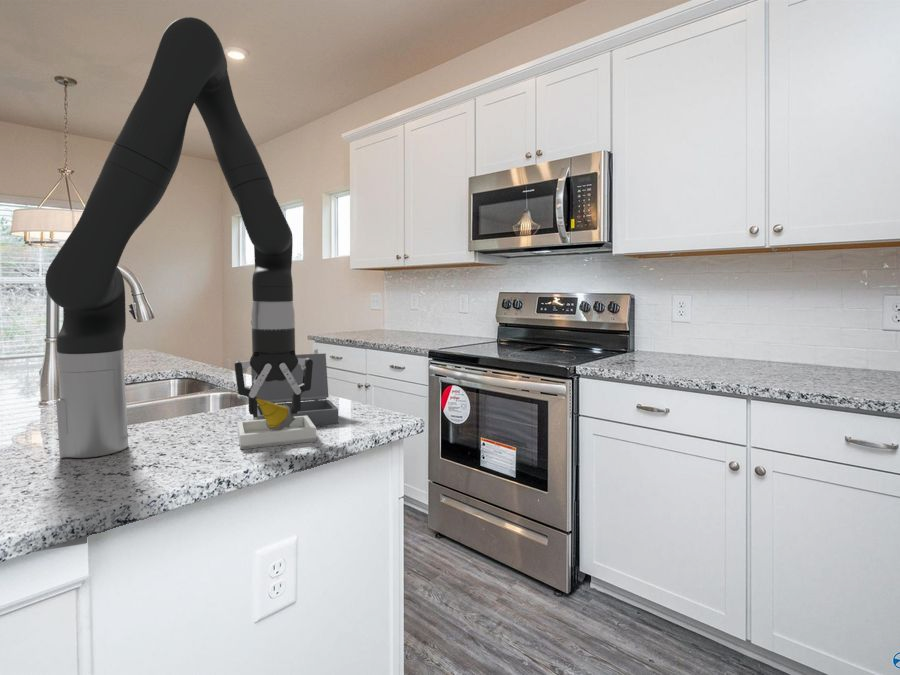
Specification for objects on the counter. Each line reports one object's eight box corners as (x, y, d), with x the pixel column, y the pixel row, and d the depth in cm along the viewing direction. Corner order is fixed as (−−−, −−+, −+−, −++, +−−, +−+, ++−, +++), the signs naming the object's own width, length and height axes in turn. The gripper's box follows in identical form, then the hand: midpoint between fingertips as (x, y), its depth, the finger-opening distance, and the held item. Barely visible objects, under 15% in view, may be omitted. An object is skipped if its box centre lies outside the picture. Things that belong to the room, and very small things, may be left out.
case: (256, 431, 102) (256, 416, 102) (253, 419, 111) (252, 405, 111) (338, 423, 108) (338, 409, 108) (328, 412, 117) (328, 399, 117)
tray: (240, 449, 90) (240, 435, 90) (237, 434, 99) (237, 421, 99) (316, 441, 96) (316, 427, 96) (307, 427, 105) (307, 415, 105)
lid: (250, 356, 112) (250, 357, 112) (253, 405, 110) (252, 405, 111) (326, 353, 118) (325, 353, 119) (328, 398, 117) (328, 399, 118)
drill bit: (300, 433, 98) (265, 404, 92) (277, 443, 99) (241, 415, 93) (303, 411, 102) (270, 382, 95) (281, 421, 103) (246, 392, 97)
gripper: (231, 328, 89) (234, 423, 91) (316, 326, 95) (318, 416, 97) (230, 325, 96) (233, 413, 98) (309, 323, 102) (311, 407, 104)
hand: (275, 414), depth 97 cm, fingers closed on drill bit, 6 cm apart
